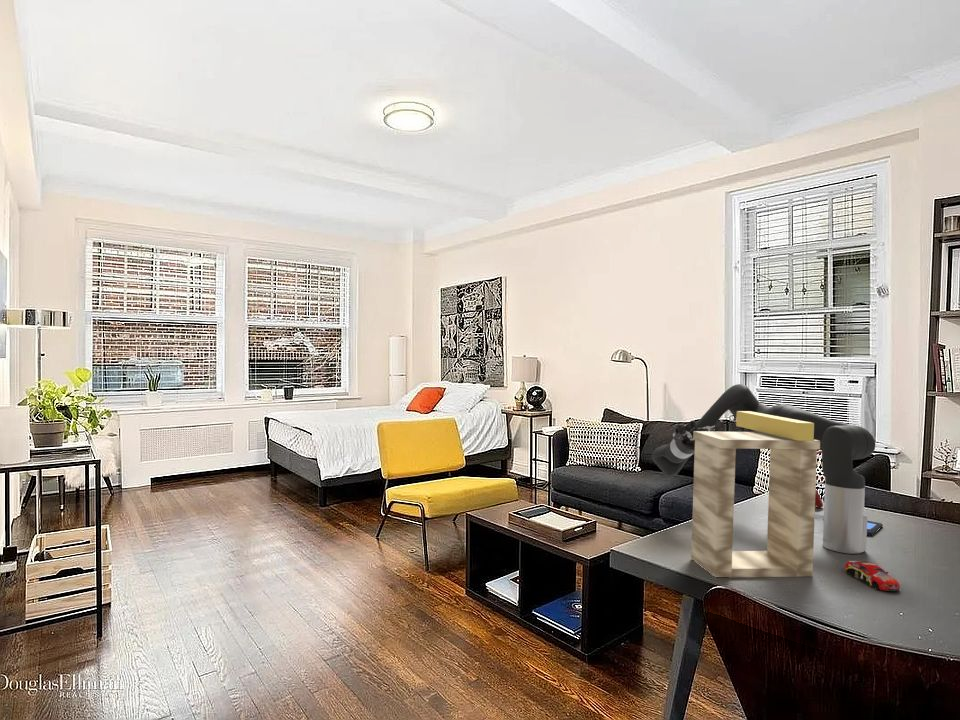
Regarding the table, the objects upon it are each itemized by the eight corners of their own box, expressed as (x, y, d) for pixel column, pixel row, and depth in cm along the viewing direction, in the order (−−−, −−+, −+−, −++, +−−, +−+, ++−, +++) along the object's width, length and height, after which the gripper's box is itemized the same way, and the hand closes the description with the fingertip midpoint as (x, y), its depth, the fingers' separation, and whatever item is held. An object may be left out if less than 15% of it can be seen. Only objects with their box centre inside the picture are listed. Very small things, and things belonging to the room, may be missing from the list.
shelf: (778, 557, 153) (783, 431, 153) (815, 577, 139) (820, 439, 139) (689, 558, 151) (693, 430, 150) (717, 579, 137) (721, 438, 136)
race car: (905, 594, 132) (906, 576, 131) (881, 594, 131) (882, 576, 131) (862, 572, 145) (863, 555, 145) (841, 571, 144) (842, 555, 144)
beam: (750, 426, 162) (750, 411, 162) (813, 440, 136) (814, 423, 136) (736, 425, 162) (736, 411, 162) (797, 440, 136) (797, 422, 136)
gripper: (662, 432, 191) (682, 411, 177) (705, 432, 192) (728, 412, 178) (666, 454, 187) (687, 435, 173) (710, 454, 189) (734, 435, 175)
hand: (708, 423), depth 176 cm, fingers open, 8 cm apart
